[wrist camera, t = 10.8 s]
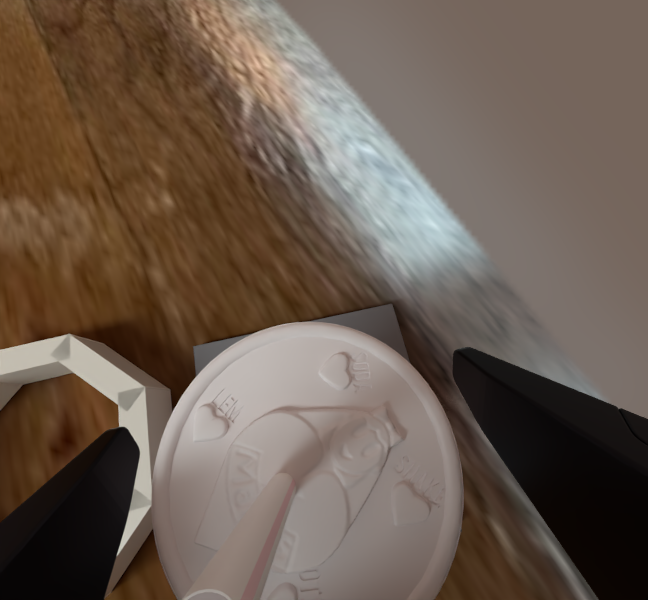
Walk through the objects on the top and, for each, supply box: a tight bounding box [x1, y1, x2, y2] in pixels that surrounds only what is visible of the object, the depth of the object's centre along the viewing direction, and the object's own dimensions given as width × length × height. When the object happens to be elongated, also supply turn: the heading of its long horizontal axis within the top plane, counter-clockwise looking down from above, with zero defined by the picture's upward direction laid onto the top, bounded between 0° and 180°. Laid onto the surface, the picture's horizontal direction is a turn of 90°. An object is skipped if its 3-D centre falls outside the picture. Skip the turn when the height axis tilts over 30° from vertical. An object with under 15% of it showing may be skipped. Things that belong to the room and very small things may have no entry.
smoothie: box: [151, 322, 464, 600], centre depth 9 cm, size 6×6×14 cm
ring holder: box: [0, 334, 172, 599], centre depth 14 cm, size 12×12×2 cm
